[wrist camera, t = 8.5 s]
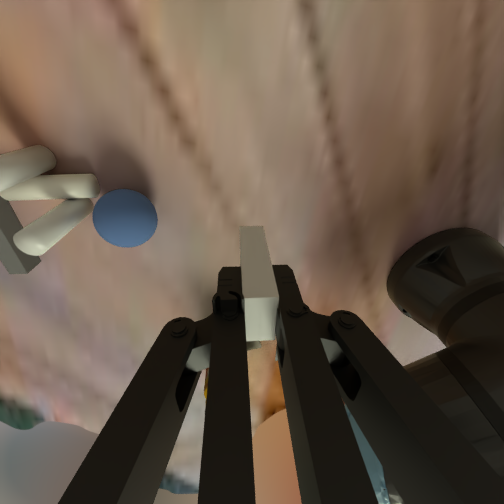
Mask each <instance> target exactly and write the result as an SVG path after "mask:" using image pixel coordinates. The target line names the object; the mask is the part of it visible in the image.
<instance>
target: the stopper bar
mask: <svg viewBox="0 0 504 504" xmlns="http://www.w3.org/2000/svg"><path fill="white" fill-rule="evenodd" d="M21 229H23V227H22V226H21V224H20V222H19V220H18V218H17V216H16V215H15V213H14V211H13V209H12V207H11V205H10V204H9V202H8V200H5V199H4V198H2V197H1V196H0V260H1V262H2V263H3V265H4V266H5V268H6V269H7V271H8V273H9V274H28V273H29V272H30V271H31V270H32V269H33V268H34V267H35V266H37V265H38V264H39V263H40V262H41V260H40V258H39V257H38V256H33V255H29V254H26V253H24V252H22V251H21V250H20V249H18V248H17V246H16V245H15V243H14V241H13V236H14V235H15V233H17V232H18V231H20V230H21Z"/></svg>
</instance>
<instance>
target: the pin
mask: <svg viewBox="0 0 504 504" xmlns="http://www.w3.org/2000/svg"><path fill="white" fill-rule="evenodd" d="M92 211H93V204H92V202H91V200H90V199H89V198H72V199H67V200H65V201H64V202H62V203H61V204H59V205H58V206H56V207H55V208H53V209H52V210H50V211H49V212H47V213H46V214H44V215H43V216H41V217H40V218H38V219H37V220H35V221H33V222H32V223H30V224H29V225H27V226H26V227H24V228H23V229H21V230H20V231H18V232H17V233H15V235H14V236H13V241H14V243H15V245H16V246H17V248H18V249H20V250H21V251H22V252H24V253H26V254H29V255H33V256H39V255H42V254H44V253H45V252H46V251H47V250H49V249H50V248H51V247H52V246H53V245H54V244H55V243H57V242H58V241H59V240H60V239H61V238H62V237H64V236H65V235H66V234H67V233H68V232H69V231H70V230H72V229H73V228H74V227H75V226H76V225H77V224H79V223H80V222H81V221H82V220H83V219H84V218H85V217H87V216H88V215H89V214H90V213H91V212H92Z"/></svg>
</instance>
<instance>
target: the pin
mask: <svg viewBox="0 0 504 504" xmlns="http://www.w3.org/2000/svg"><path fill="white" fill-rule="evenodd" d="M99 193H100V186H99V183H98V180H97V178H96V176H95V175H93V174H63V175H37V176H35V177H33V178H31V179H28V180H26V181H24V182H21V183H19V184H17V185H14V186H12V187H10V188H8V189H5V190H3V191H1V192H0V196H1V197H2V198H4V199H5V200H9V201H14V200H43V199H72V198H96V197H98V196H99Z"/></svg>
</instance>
